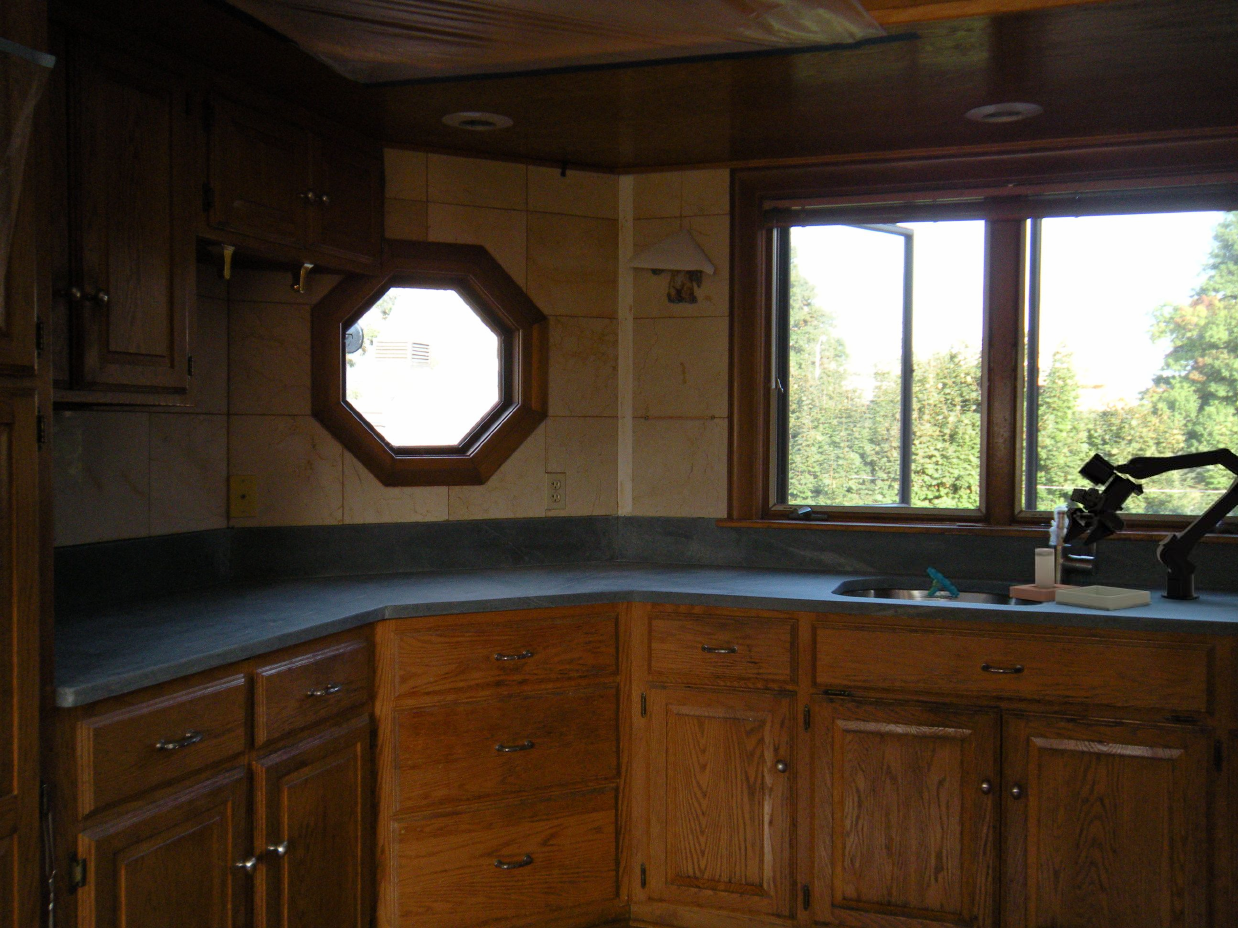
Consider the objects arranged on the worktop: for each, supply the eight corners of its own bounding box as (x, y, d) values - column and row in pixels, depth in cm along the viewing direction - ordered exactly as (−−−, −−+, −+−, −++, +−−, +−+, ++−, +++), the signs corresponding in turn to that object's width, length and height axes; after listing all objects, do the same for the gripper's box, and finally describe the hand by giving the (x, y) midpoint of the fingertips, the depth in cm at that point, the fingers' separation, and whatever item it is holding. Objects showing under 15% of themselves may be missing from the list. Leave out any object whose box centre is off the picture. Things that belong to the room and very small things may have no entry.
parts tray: (1096, 597, 258) (1096, 585, 257) (1150, 604, 246) (1150, 591, 246) (1055, 603, 249) (1055, 590, 249) (1109, 610, 237) (1109, 597, 237)
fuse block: (1045, 592, 268) (1045, 582, 268) (1080, 596, 259) (1080, 586, 259) (1009, 596, 260) (1009, 586, 260) (1044, 601, 252) (1044, 591, 252)
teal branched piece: (965, 593, 256) (935, 564, 257) (949, 610, 256) (919, 581, 257) (955, 593, 267) (925, 566, 268) (939, 609, 267) (910, 582, 268)
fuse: (1042, 595, 263) (1042, 547, 262) (1058, 597, 259) (1058, 549, 259) (1031, 596, 260) (1031, 548, 260) (1047, 598, 257) (1046, 550, 256)
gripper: (1070, 476, 269) (1032, 521, 268) (1110, 476, 250) (1069, 525, 249) (1101, 504, 269) (1062, 549, 268) (1143, 507, 251) (1102, 555, 250)
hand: (1073, 544), depth 259 cm, fingers open, 9 cm apart
